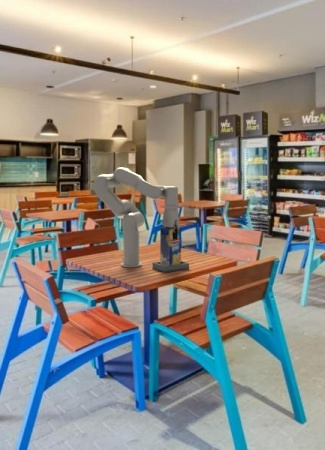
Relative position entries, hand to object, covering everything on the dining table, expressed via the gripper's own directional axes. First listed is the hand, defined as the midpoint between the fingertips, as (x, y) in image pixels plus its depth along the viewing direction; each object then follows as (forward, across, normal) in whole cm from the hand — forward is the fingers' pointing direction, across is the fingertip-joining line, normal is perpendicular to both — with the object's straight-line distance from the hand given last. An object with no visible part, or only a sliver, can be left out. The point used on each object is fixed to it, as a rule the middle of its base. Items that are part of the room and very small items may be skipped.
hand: (170, 237), depth 244 cm
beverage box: (+16, 0, 0) cm, 16 cm away
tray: (+18, 0, 0) cm, 18 cm away
